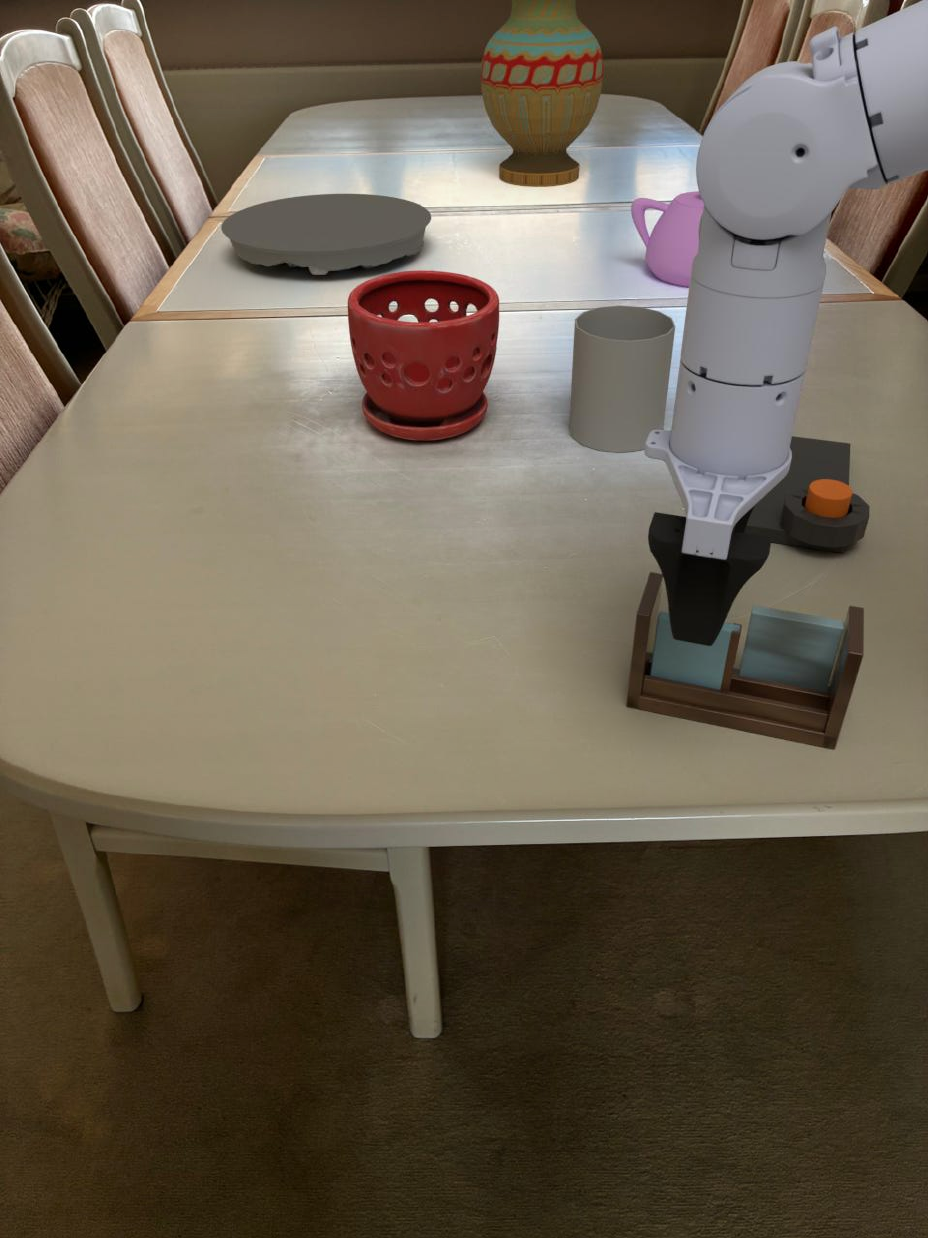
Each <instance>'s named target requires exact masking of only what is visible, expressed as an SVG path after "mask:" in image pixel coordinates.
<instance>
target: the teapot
mask: <svg viewBox="0 0 928 1238" xmlns="http://www.w3.org/2000/svg"><path fill="white" fill-rule="evenodd" d="M703 208H704V203H703V201H702V198H701V196H700V193H699V190H697V191H695V190H694V191H688V192H683V193H680V194H677V195H676V196H675V197H674V198H672V200H671V201H670V202H669V204H668V203H665V202H663V201H659V200H657V199H652V198H649V197H637V198H635V199H634V200H633V201H632V203H631V206H630V212H631V218H632V222H633V224H634V226H635V229H636V231H637V233H638V235H639V237H640V239H641V241H642V242H643V244H644V246H645V248H646V249H645V261H646V265H647V266H648V268H649V269H650V271H651V272H652V274H654V276H655V277H656V278H657V279H658V280H660V281H662V282H664V283H666V284H667V283H668V284H671V285H673V286H674V285H675V286H679V287H685V288H689V284H690V276H691V269H692V262H693V259H694V257H695V256H696V254H697V253H698V246H699V236H698V228H699V222H700V218H701V215H702V213H703ZM648 209H651V210H652V209H653V210H657V211H659V212H662V214H661V216H659V218H658V220H657V222H656V223H655V225H654V226H653V228H652V231H651V233H650V234H649V231H648V229H647V224H646V215H645V213H646V211H647V210H648Z"/></svg>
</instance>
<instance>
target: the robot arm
mask: <svg viewBox="0 0 928 1238" xmlns="http://www.w3.org/2000/svg"><path fill="white" fill-rule="evenodd" d="M808 45H809V51H810V55H811V62H806V63H805V62H798V60H793V61H792V60H790V61H785V62H784V61H783V62H778V63H776V64H773V65H769V66H766V67H765V68H763V69H761V70H759V71H757V72H755V73H754V74H752V75H751V76H750V77H749V78H748V79H746V80H745V81H744V82H743V83H742V84H741V85H740V86H739V87H738V88H737V89H736V90H735V91H734V92H733V93H732V94H731V95H730V96H729V98H728V99H726V101H725V102H724V103H722V105H721V106H720V107H719V108H718V109H717V110H716V112H715V113H714V114H713V116H712V118H711V119H710V121H709V122H708V124H707V126H706V128H705V130H704V133H703V135H702V137H701V140H700V144H699V147H698V151H697V155H696V165H695V176H696V184H697V189H698V191H699V193H700V196H701V198H702V201H703V203H704V208H703V213H702V215H701V218H700V222H699V228H698V236H699V246H698V253H697V254H696V256H695V257H694V259H693V262H692V269H691V276H690V284H689V287H688V294H687V302H686V307H685V308H686V309H685V316H684V317H685V318H684V325H683V333H682V341H681V348H680V358H679V366H678V374H677V382H676V389H675V398H674V405H673V414H672V422H671V429H670V430H669V429H663V430H658V429H656V430H652V431H651V432H650V433H649V435H648V437H647V440H646V442H645V449H644V451H643V452H644V455H645V456H646V457H647V458H649V459H653V460H660V461H662V462H664V463H665V465H666V467H667V469H668V472H669V474H670V475H669V476H670V477H671V480H672V483H673V484H674V487H675V489H676V491H677V494H678V497H679V500H680V501H681V503H682V507H683V509H684V513H685V516H683V515H677V514H670V513H664V512H657V511H655V512H653V516H652V518H651V521H650V525H649V527H648V532H647V533H648V534H647V542H648V547H649V551H650V553H651V555H652V556H653V558H654V560H655V561H656V563H657V565H658V568H659V570H660V572H661V574H662V575H663V581H664V585H665V590H666V599H667V607H668V609H667V610H668V612H669V619H670V626H671V631H672V635H673V638H674V639H675V640H679V641H685V642H690V643H695V644H701V645H706V646H712V645H713V643H714V642H715V640H716V639H717V637H718V635H719V633H720V631H721V629H722V627H723V625H724V622H725V623H726V620H727V617H728V615H729V613H730V610H731V609H732V607H733V604H734V602H735V600H736V598H737V596H739V595H738V594H739V593H740V591H741V590H742V589H743V588H744V586H745V585H746V583H747V582H748V581H749V580H750V579H752V577H753V576H754V575H756V574H757V573H758V572H759V571H760V570H761V569H762V568H763V566H764V565H765V563H766V561H767V560H768V558H769V556H770V552H771V546H772V542H771V540H772V538H771V537H766V536H760V535H753V534H747V533H744V531H745V528H746V525H747V523H748V520H749V517H750V515H751V513H752V511H753V508H754V506H755V504H757V503H758V502H759V501H760V500H761V499H762V498H763V497H764V496H765V495H766V494H767V493H768V492H770V491H771V490H772V489H773V488H774V487H775V486H776V485H777V484H778V483H779V482H780V481H781V480H782V479H784V477H785V476H786V475H787V473H788V471H789V468H790V464H791V459H792V451H791V449H790V443H791V438H792V436H793V433H794V428H795V424H796V418H797V414H798V409H799V404H800V400H801V396H802V395H801V394H802V390H803V386H804V381H805V375H806V371H807V366H808V361H809V357H810V352H811V347H812V342H813V337H814V333H815V328H816V323H817V320H818V319H817V318H818V314H819V310H820V306H821V305H820V304H821V299H822V295H823V290H824V284H825V280H826V276H827V264H826V260H825V257H824V252H825V246H826V243H827V238H828V237H827V236H828V232H829V227H830V223H831V217H832V214H833V213H832V212H834V210H835V208H836V207H837V206H838V204H839V203H840V201H841V199H842V197H843V196H844V194H845V193H846V192H847V190H851V189H864V190H871V191H874V190H879V189H881V188H884V187H886V186H888V184H889V185H892V184H895V183H897V182H900V181H903V180H906V179H908V178H911V177H913V176H916V175H918V174H922V173H924V172H927V171H928V0H920V1H918V2H916V3H914V4H911V5H909V6H907V7H905V8H902V9H901V10H898V11H896V12H894V13H892V14H890V15H887V16H885V17H883V18H881V19H878V20H877V21H874V22H872V23H870V24H868V25H866V26H864V27H861V28H859V29H856V31H855V32H850V33H848V34H847V35H844V36H841V34H840V31H839V28H838V26H833V27H831V28H828V29H827V30H824V31H822V32H820V33H818V34H816V35H814V36H813V37H811V39H810V41H809V44H808Z"/></svg>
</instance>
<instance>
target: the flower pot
mask: <svg viewBox="0 0 928 1238" xmlns="http://www.w3.org/2000/svg"><path fill="white" fill-rule="evenodd" d="M428 300H434V301H436V302H437V306H438V307H437V309H436V310H435V311H430V310H428V309H427V308H426V303H427V301H428ZM393 302H396V305H397V306H396V308H395V310H394V311H391V310H390V305H391V304H392V303H393ZM452 302H454V303H456V305H457V310H456V311H454V310H453V309H452V308H451V303H452ZM469 305H473V306H474V307H475V309H476V312H473V313H470V314H469V315H467V310H468V306H469ZM379 315H380V316H379ZM406 315H410V316H411V315H412V316H413V317H414V318H415V319H416V320H417V321H404V320H399V319H400V318H401V317H403V316H406ZM433 320H434V321H433ZM347 322H348V332H349V341H350V346H351V351H352V357H353V360H354V365H355V368H356V371H357V374H358V377H359V380H360V382H361V384H362V387H363V388H364V389H365V393H364V395H363V397H362V399H361V400H362V401H361V408H362V412H363V415H364V416H365V418H366V420H367V422H369V423H370V424H371V425H372V426H373V427H374V428H376V429H377V430H378V431H380V432H382V433H385V434H387V435H389V436H392V437H394V438H399V439H404V440H410V441H424V442H425V441H437V440H438V441H439V440H444V439H449V438H453V437H456V436H460V435H462V434H464V433H466V432H468V431H470V430H471V429H473V428H474V427H476V426H477V425H478V424H479V423H480V422H481V421H482V420H483V419H484V417H485V416H486V413H487V411H488V408H489V407H488V406H489V403H488V402H489V401H488V398H487V395H486V393H485V392H484V391H485V389H486V387H487V385H488V382H489V381H490V378H491V374H492V371H493V368H494V364H495V359H496V355H497V346H498V345H497V344H498V339H499V338H498V336H499V329H500V297H499V295H498V293H497V291H496V290H495V289H494V287H492V286H491V285H490V284H489V283H487V282H485V281H483V280H481V279H479V278H476V277H473V276H469V275H467V274H462V273H458V272H457V273H456V272H450V271H442V270H441V271H440V270H423V269H422V270H405V271H403V270H402V271H397V272H391V273H386V274H383V275H379V276H376V277H373V278H369V279H367V280H366V281H363V282H362V283H360V284H358V285H357V286H356V287H354V288H353V289H352V290H351V292H349V295H348V297H347Z"/></svg>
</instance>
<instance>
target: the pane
mask: <svg viewBox="0 0 928 1238" xmlns="http://www.w3.org/2000/svg"><path fill="white" fill-rule="evenodd" d="M742 628H743V624H741V623H735V622H734V623H732V622H731V623H730V622H726V621H725V622H724V625H723V627H722V629H721V631H720V633H719V635H718V637H717V639H716V640H715V642H714V643H713V645H712V646H706V645H701V644H695V643H690V642H685V641H679V640H675V639H674V638H673V635H672V631H671V626H670V619H669V611H664V610H659V612H658V619H657V627H656V635H655V642H654V650H653V658H652V665H651V673H650V676H653V677H658V678H663V679H669V680H674V681H679V682H684V683H689V684H694V685H699V686H704V687H709V688H714V689H719V690H724V691H729V689H730V684H731V679H732V674H733V669H734V668H735V664H736V658H737V655H738V649H739V643H740V639H741V634H742Z"/></svg>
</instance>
